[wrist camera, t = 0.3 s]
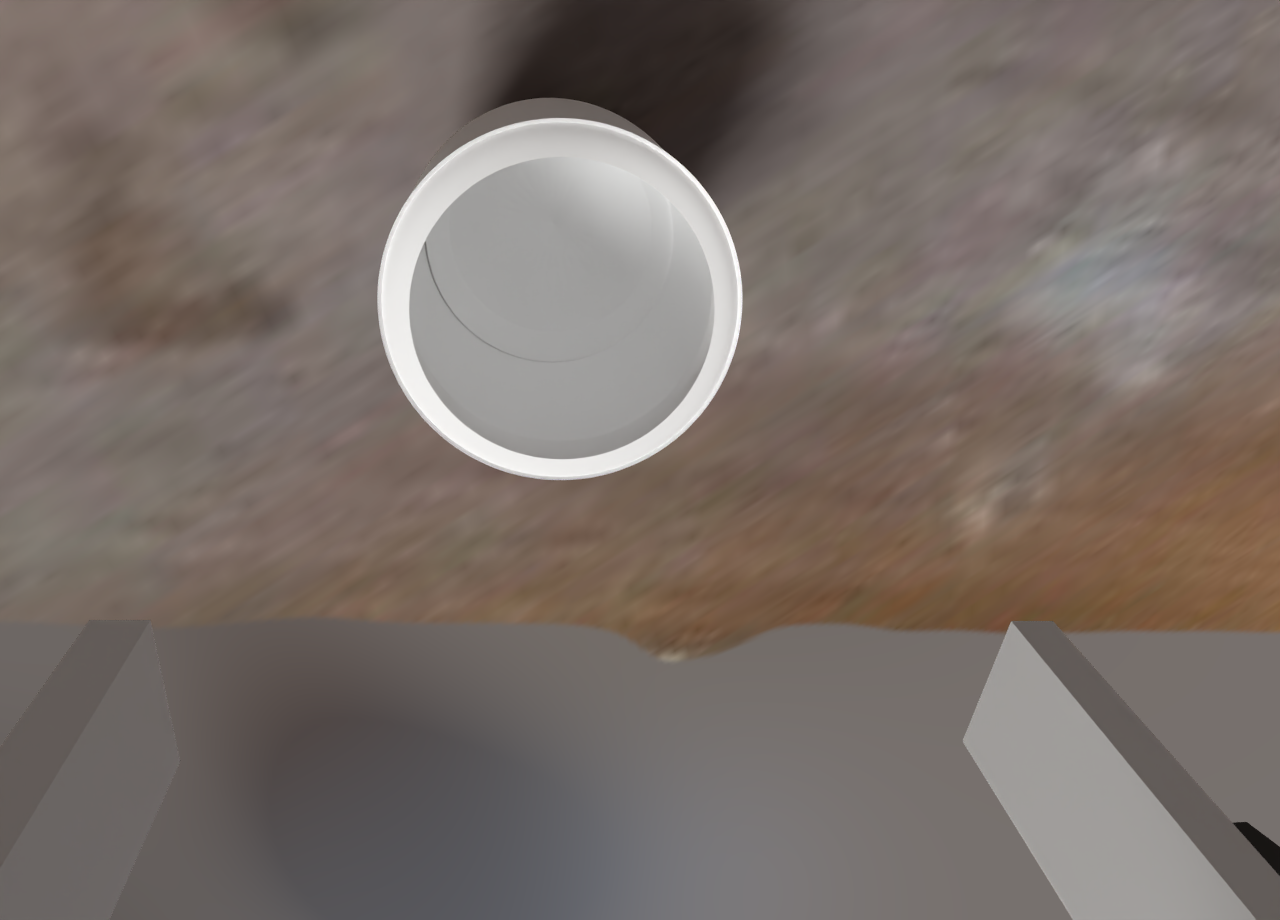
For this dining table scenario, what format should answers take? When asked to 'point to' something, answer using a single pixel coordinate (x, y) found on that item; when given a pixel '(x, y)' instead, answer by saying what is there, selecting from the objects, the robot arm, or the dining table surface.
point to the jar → (558, 292)
